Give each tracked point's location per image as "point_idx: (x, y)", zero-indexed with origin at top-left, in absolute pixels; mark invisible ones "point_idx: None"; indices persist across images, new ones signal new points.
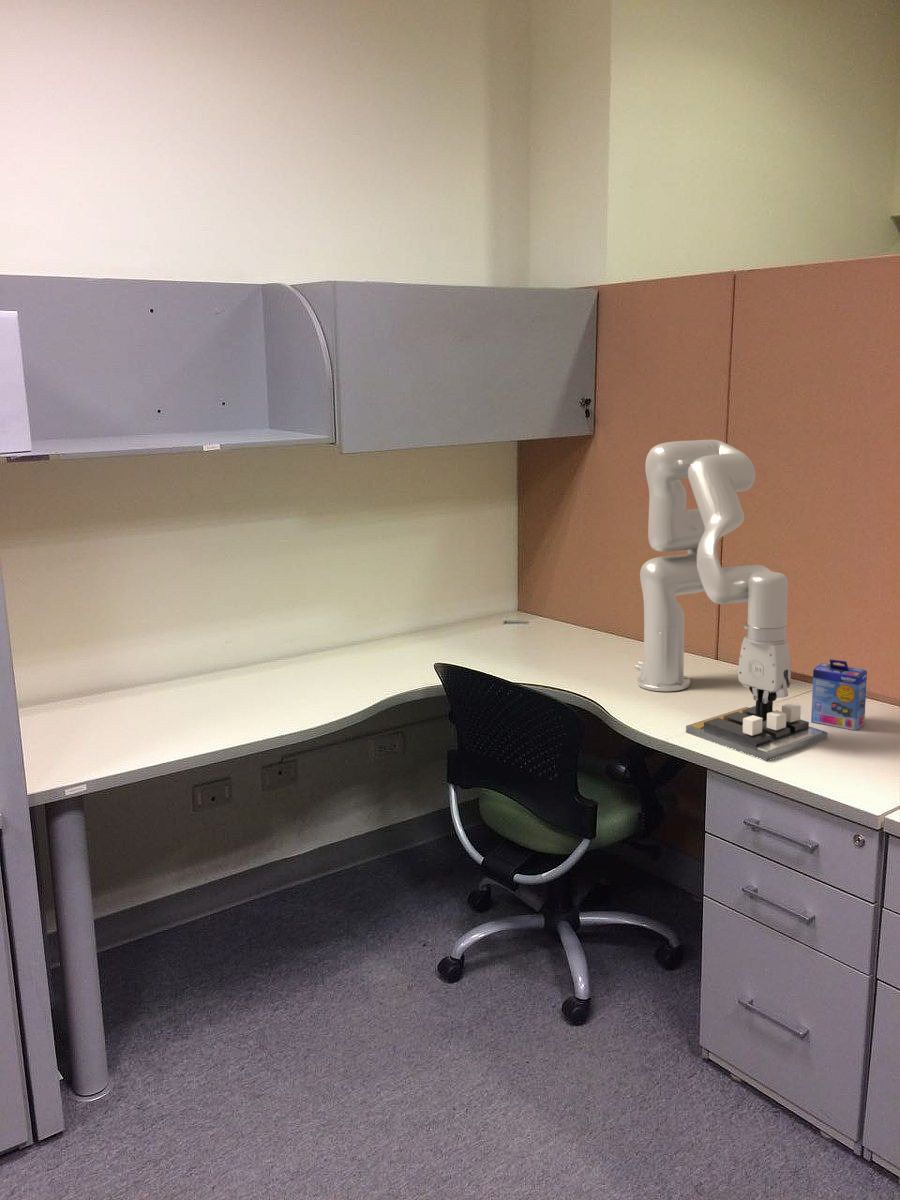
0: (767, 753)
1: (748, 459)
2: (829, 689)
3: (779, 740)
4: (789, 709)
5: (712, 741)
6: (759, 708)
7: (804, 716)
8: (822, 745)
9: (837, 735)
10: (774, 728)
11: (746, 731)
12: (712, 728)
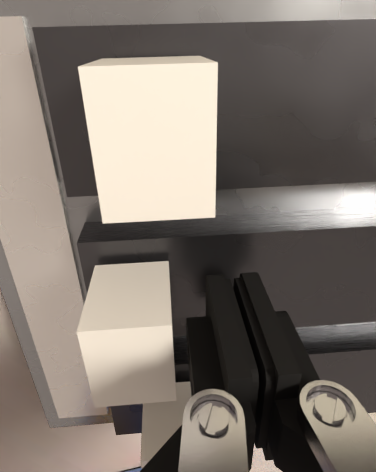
0: None
1: None
2: None
3: (59, 227)
4: (154, 451)
5: None
6: (253, 336)
7: (254, 461)
8: (13, 356)
9: (70, 437)
10: (107, 269)
11: (160, 57)
12: None
